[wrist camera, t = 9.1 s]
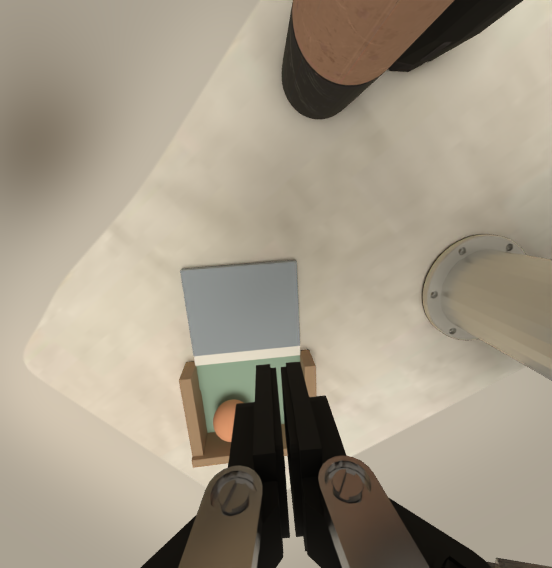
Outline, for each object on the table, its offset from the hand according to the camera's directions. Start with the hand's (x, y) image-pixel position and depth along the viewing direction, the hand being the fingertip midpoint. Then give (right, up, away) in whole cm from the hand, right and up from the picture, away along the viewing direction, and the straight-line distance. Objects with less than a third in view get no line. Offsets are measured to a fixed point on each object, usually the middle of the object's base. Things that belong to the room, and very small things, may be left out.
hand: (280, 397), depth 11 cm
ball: (-5, -11, +22) cm, 25 cm away
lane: (-3, -4, +22) cm, 23 cm away
